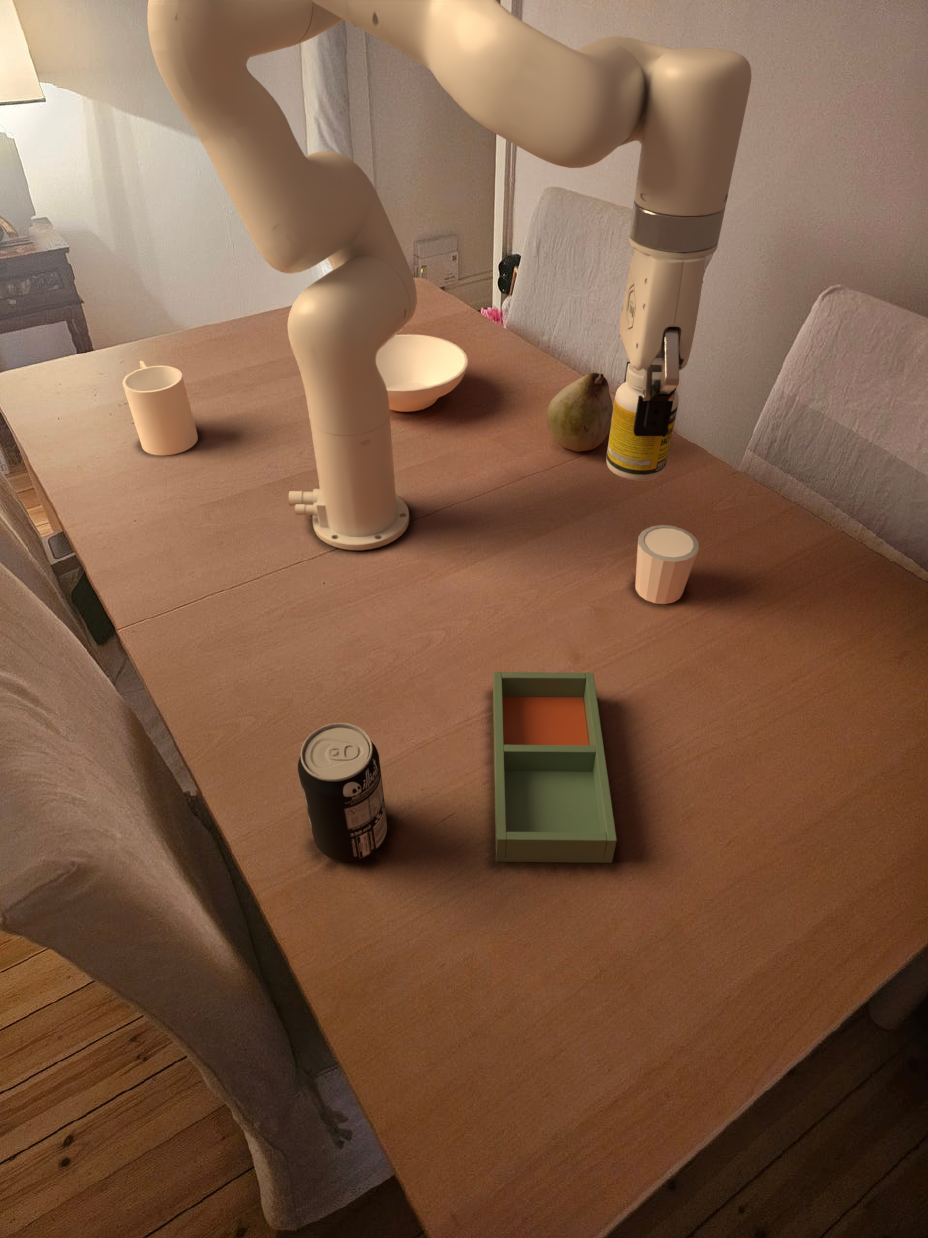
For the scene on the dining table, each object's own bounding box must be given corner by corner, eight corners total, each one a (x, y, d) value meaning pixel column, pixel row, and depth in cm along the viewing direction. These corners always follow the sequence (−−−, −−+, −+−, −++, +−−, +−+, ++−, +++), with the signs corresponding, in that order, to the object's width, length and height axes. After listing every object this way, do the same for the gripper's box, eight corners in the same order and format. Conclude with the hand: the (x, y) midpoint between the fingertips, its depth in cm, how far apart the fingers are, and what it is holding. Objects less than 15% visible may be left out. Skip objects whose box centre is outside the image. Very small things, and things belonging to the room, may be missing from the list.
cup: (182, 411, 130) (166, 351, 123) (204, 446, 122) (189, 383, 115) (129, 424, 127) (110, 363, 120) (149, 460, 119) (129, 397, 112)
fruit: (600, 467, 118) (610, 389, 110) (536, 455, 120) (541, 379, 112) (614, 432, 125) (624, 357, 117) (553, 422, 127) (560, 348, 119)
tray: (495, 862, 71) (496, 839, 69) (493, 695, 86) (493, 671, 83) (611, 863, 71) (617, 840, 69) (589, 696, 86) (593, 672, 83)
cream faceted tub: (691, 576, 100) (702, 530, 95) (683, 613, 95) (695, 566, 90) (635, 565, 101) (643, 519, 97) (624, 600, 97) (632, 553, 92)
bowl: (490, 391, 134) (491, 351, 130) (423, 444, 122) (421, 402, 118) (394, 363, 142) (391, 324, 137) (321, 410, 130) (316, 369, 125)
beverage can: (316, 805, 76) (297, 721, 68) (387, 800, 76) (377, 715, 68) (312, 869, 71) (292, 787, 63) (388, 863, 71) (378, 780, 63)
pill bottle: (665, 486, 83) (685, 385, 76) (604, 479, 84) (618, 379, 77) (665, 453, 88) (684, 355, 80) (607, 448, 89) (620, 350, 81)
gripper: (616, 195, 76) (594, 376, 88) (649, 263, 63) (618, 463, 76) (697, 195, 76) (664, 376, 88) (746, 263, 63) (699, 463, 76)
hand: (643, 414), depth 82 cm, fingers closed on pill bottle, 6 cm apart
